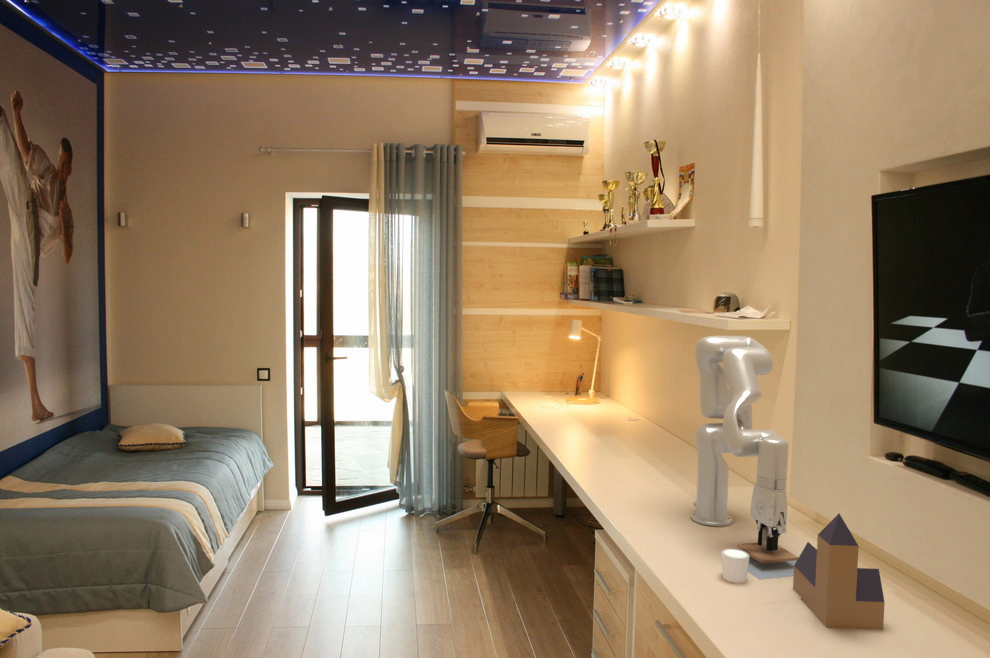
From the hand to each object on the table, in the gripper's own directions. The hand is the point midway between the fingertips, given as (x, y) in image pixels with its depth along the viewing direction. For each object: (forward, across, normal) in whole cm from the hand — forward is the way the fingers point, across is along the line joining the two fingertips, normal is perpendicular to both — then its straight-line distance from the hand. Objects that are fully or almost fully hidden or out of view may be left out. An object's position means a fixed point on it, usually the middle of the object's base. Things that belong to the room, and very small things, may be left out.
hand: (767, 547), depth 187 cm
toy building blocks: (+4, +27, -1) cm, 27 cm away
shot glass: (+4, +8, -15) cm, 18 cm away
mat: (+4, +1, 0) cm, 5 cm away
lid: (+2, 0, 0) cm, 2 cm away
